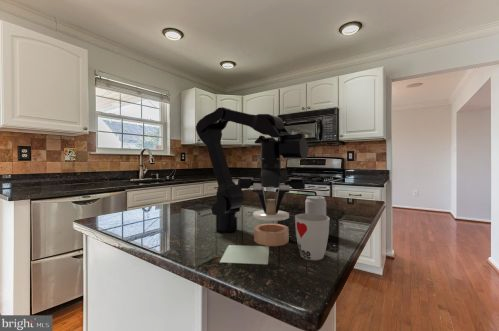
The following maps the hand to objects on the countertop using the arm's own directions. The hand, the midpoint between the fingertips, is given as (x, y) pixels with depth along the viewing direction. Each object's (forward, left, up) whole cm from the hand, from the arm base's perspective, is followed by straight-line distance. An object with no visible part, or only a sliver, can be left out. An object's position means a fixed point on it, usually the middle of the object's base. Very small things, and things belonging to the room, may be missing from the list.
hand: (270, 212), depth 70 cm
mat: (-6, -11, -8) cm, 15 cm away
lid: (0, 0, -1) cm, 1 cm away
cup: (+10, -11, -9) cm, 17 cm away
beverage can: (+14, +8, -9) cm, 19 cm away
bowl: (0, 0, -8) cm, 8 cm away
